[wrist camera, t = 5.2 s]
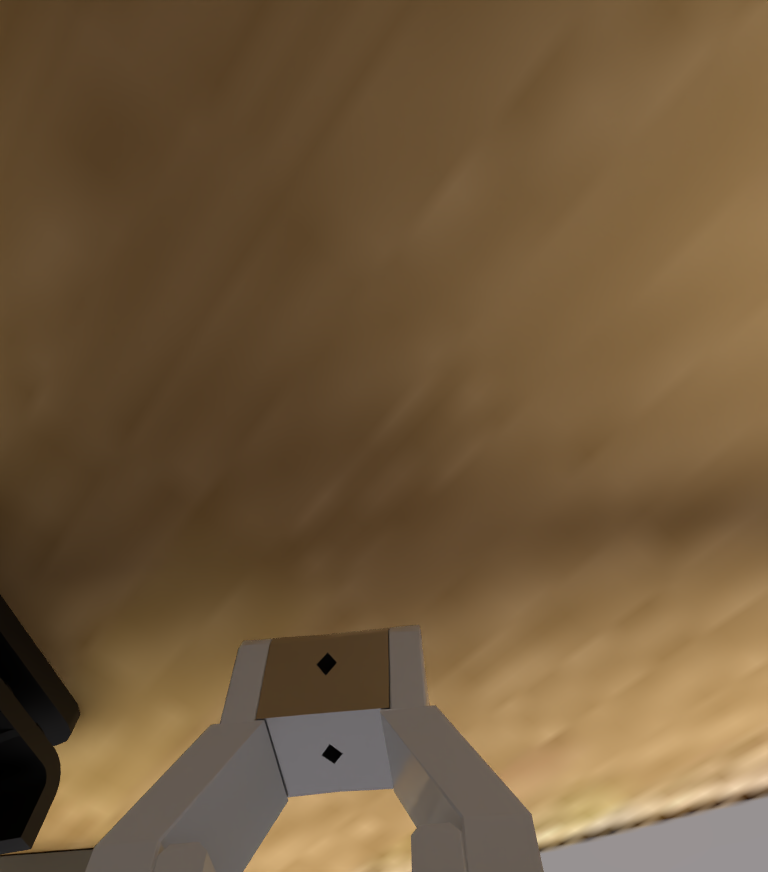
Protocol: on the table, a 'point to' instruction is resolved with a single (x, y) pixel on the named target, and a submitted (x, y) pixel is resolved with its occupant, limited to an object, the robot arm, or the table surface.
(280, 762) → the robot arm
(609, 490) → the table surface
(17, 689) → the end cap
